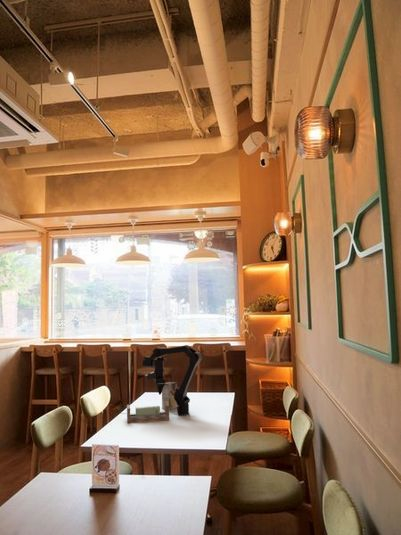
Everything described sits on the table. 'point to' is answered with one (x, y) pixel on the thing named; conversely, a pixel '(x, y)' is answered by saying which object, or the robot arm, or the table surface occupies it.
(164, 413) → the cabinet base
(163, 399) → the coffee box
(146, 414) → the door panel
